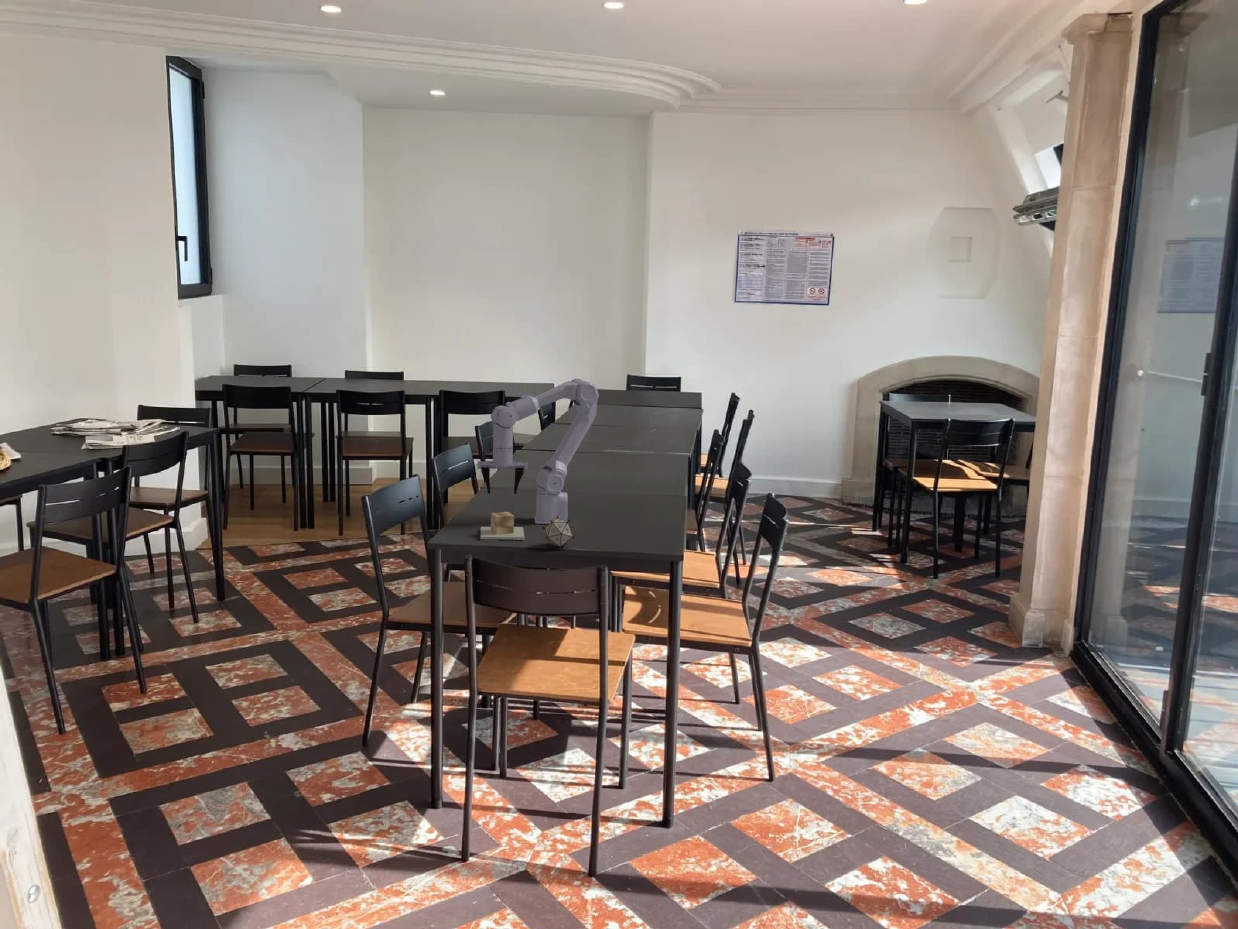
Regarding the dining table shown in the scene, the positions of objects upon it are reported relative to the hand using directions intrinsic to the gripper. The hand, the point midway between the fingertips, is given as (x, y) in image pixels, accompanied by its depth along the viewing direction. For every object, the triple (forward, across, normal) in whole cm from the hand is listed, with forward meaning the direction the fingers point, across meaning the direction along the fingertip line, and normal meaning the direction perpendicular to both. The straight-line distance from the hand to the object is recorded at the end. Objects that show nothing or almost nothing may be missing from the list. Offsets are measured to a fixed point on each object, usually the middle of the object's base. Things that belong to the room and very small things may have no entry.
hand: (502, 493), depth 277 cm
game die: (+10, -15, +24) cm, 30 cm away
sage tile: (+9, 0, +12) cm, 16 cm away
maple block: (+8, 0, +12) cm, 15 cm away
